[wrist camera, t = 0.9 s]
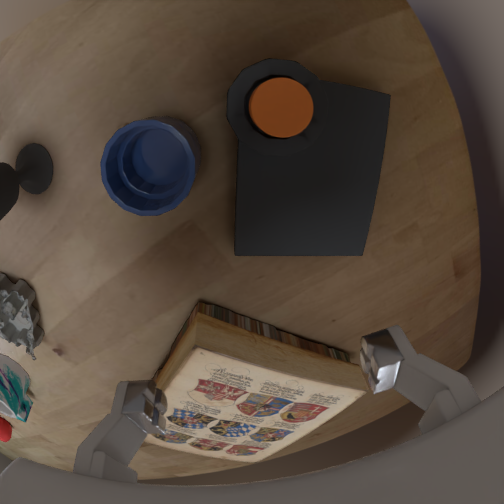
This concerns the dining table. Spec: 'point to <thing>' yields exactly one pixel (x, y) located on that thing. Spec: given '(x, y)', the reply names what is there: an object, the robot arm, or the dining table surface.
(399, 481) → the robot arm
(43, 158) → the sundae
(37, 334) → the egg carton
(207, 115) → the dining table surface
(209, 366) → the book
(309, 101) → the button
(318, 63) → the dining table surface
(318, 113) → the scale
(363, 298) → the dining table surface
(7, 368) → the mug
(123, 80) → the dining table surface
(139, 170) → the cup
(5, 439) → the apple
